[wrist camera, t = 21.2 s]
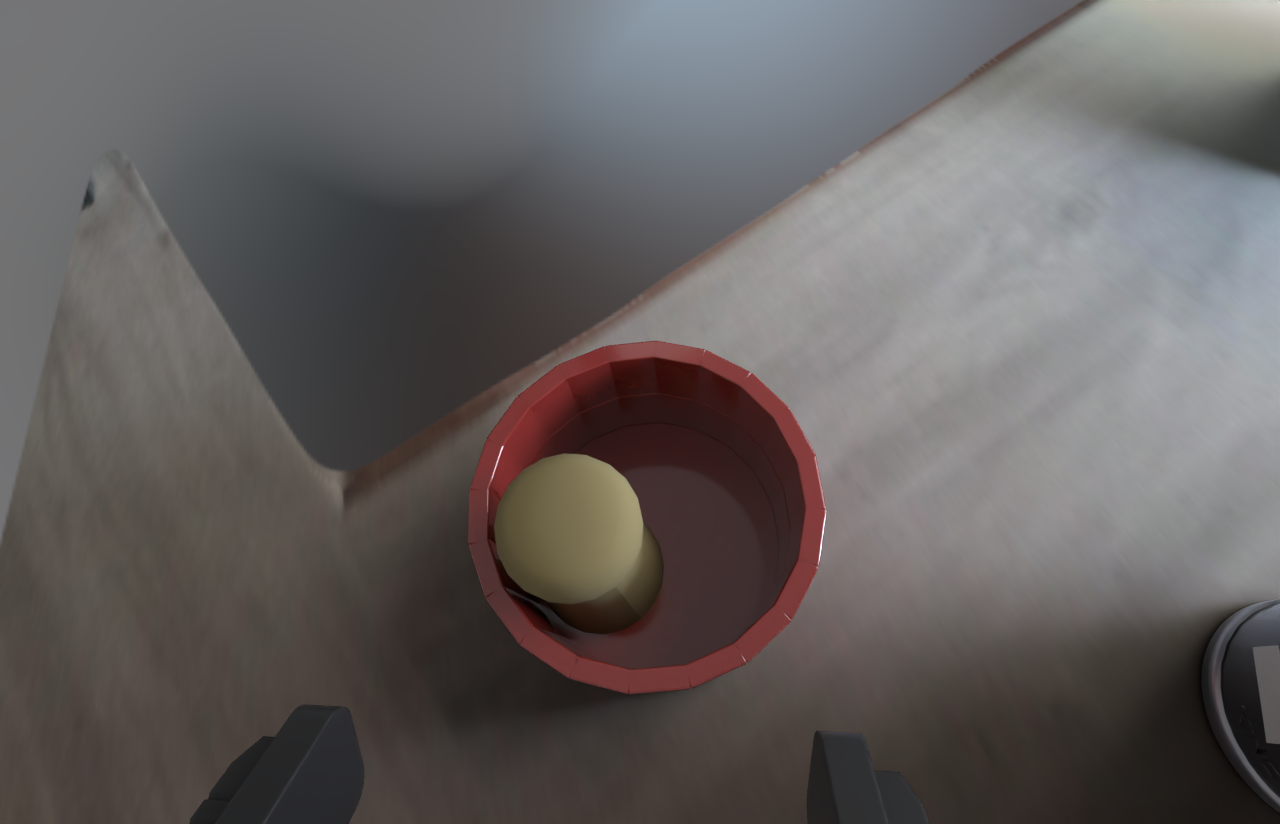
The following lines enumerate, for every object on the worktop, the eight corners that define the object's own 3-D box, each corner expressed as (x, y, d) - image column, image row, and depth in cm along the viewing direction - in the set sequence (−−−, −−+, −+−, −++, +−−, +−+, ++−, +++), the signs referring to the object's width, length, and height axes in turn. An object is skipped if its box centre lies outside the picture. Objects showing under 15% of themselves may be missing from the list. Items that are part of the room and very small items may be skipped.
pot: (719, 375, 36) (727, 296, 28) (845, 616, 31) (894, 595, 23) (483, 472, 34) (427, 416, 27) (573, 740, 29) (534, 760, 22)
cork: (523, 534, 33) (449, 468, 22) (637, 489, 33) (614, 404, 23) (562, 655, 30) (499, 642, 20) (683, 604, 31) (681, 567, 21)
